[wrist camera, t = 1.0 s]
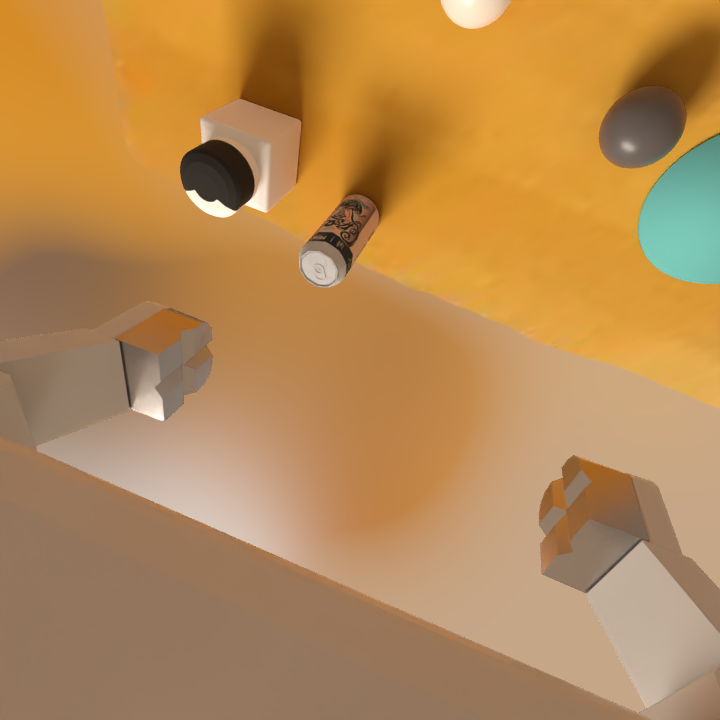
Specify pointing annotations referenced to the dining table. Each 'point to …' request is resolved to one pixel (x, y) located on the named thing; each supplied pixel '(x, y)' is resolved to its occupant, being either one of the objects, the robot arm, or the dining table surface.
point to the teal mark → (685, 217)
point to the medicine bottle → (242, 159)
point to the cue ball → (474, 11)
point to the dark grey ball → (642, 127)
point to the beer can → (338, 241)
